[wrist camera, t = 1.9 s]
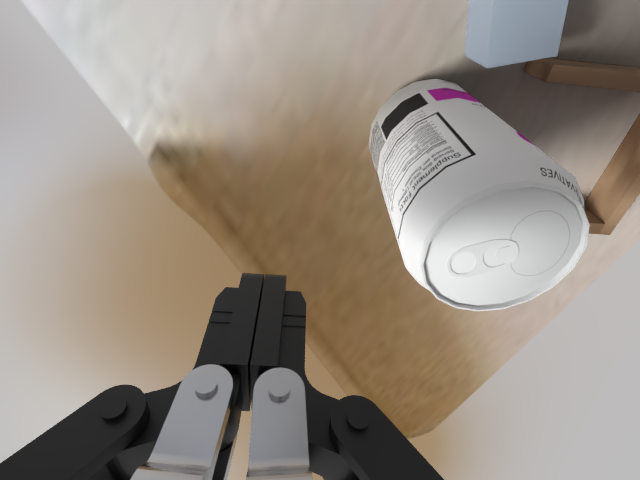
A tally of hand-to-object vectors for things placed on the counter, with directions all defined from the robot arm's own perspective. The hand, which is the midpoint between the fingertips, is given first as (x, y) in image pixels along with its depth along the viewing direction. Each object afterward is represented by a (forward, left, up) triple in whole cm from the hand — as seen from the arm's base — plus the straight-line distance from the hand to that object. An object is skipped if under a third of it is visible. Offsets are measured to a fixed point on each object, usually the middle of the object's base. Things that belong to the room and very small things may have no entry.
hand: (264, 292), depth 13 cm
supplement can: (0, +10, -18) cm, 21 cm away
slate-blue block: (-8, +13, -18) cm, 24 cm away
